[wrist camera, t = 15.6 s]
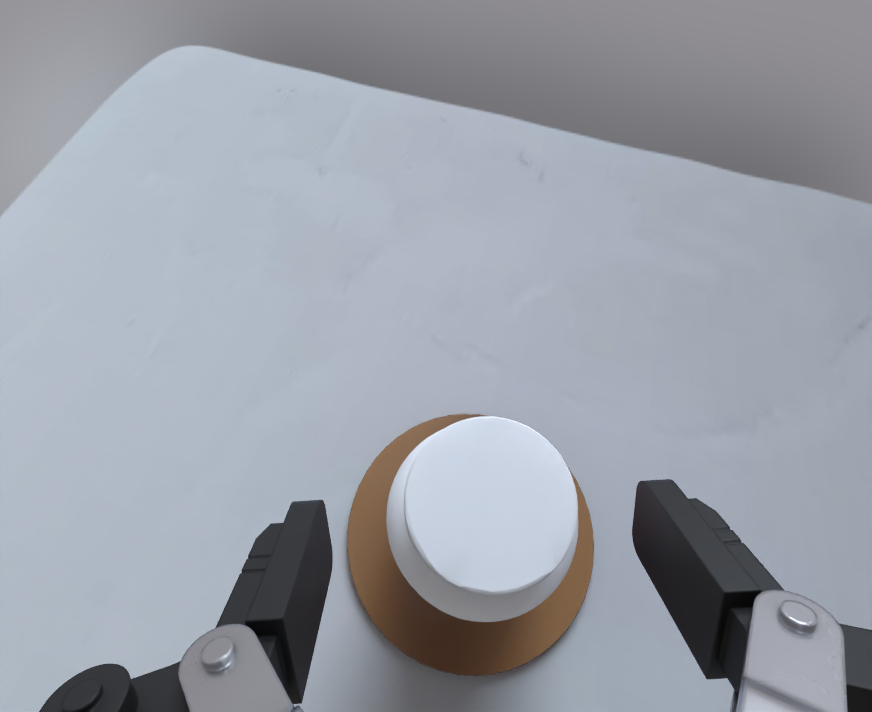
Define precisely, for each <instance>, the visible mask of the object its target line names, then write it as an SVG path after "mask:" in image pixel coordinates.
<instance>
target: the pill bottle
mask: <svg viewBox="0 0 872 712" xmlns="http://www.w3.org/2000/svg"><path fill="white" fill-rule="evenodd" d="M386 523H387V533H388V539H389V544H390V547H391V551H392V553H393V556H394V559H395V561H396V563H397V565H398V567H399V569H400V571H401V572H402V574H403V576H404V577H405V578H406V580H407V581H408V583H409V584H410V585H411V586H412V587H413V588H414V589H415V590H416V592H417V593H418V594H419V595H420V596H421V597H422V598H424V599H425V600H426V601H427V602H429V603H430V604H431V605H433V606H434V607H436V608H437V609H439V610H441V611H442V612H444V613H446V614H449V615H451V616H453V617H456V618H459V619H463V620H469V621H475V622H497V621H503V620H508V619H511V618H515V617H518V616H520V615H522V614H524V613H527V612H528V611H530V610H532V609H533V608H535V607H537V606H538V605H539V604H541V603H542V602H543V601H544V600H546V599H547V598H548V597H549V596H550V595H551V594H552V593H553V592H554V590H555V589H556V588H557V587H558V586H559V584H560V583H561V581H562V580H563V578H564V577H565V575H566V573H567V571H568V569H569V567H570V565H571V562H572V559H573V556H574V553H575V549H576V544H577V538H578V501H577V493H576V488H575V484H574V481H573V478H572V476H571V473H570V471H569V469H568V467H567V465H566V464H565V462H564V460H563V458H562V457H561V455H560V454H559V452H558V451H557V450H556V449H555V448H554V447H553V446H552V444H551V443H550V442H549V441H548V440H547V439H545V438H544V437H543V436H542V435H540V434H539V433H537V432H536V431H535V430H533V429H532V428H530V427H528V426H526V425H524V424H522V423H519V422H517V421H514V420H510V419H506V418H502V417H494V416H482V417H473V418H468V419H465V420H461V421H459V422H456V423H454V424H451V425H449V426H447V427H446V428H444V429H442V430H440V431H438V432H436V433H434V434H433V435H431V436H429V437H428V438H426V439H425V440H424V441H422V442H421V443H420V444H419V445H418V446H417V447H416V448H415V449H414V450H413V451H412V452H411V453H410V454H409V455H408V457H407V458H406V459H405V460H404V462H403V463H402V465H401V467H400V468H399V470H398V472H397V474H396V476H395V478H394V481H393V484H392V486H391V490H390V493H389V498H388V503H387V516H386Z"/></svg>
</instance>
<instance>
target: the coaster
mask: <svg viewBox="0 0 872 712" xmlns="http://www.w3.org/2000/svg"><path fill="white" fill-rule="evenodd" d="M482 416H486V415H480V414H457V415H448V416H444V417H439V418H435V419H432V420H429V421H426V422H424V423H421V424H419V425H417V426H415V427H413V428H411V429H409V430H408V431H406V432H405V433H403V434H402V435H400V436H399V437H397V438H396V439H395V440H394V441H393V442H391V443H390V444H389V445H388V446H387V447H386V448H385V449H384V450H383V451H382V452H381V453H380V454H379V455H378V457H377V458H376V459H375V460H374V462H373V463H372V464H371V466H370V467H369V469H368V470H367V472H366V474H365V475H364V477H363V479H362V481H361V483H360V485H359V487H358V490H357V493H356V495H355V498H354V501H353V505H352V509H351V513H350V517H349V525H348V557H349V565H350V570H351V574H352V578H353V582H354V585H355V588H356V590H357V593H358V595H359V598H360V600H361V602H362V604H363V606H364V608H365V610H366V611H367V613H368V615H369V617H370V618H371V620H372V621H373V622H374V624H375V625H376V626H377V628H378V629H379V630H380V632H381V633H382V634H383V635H384V636H385V637H386V638H387V639H388V640H389V641H390V642H391V643H392V644H393V645H395V646H396V647H397V648H398V649H400V650H401V651H402V652H404V653H405V654H406V655H408V656H409V657H411V658H413V659H415V660H416V661H418V662H420V663H422V664H424V665H426V666H429V667H432V668H434V669H437V670H439V671H443V672H448V673H452V674H457V675H471V676H479V675H489V674H496V673H500V672H504V671H508V670H511V669H514V668H516V667H518V666H521V665H523V664H525V663H528V662H529V661H531V660H532V659H534V658H536V657H537V656H539V655H541V654H542V653H543V652H545V651H546V650H547V649H548V648H549V647H550V646H552V645H553V644H554V643H555V642H556V641H557V640H558V639H559V638H560V637H561V635H562V634H563V633H564V632H565V631H566V630H567V629H568V627H569V625H570V624H571V622H572V621H573V619H574V618H575V616H576V615H577V613H578V611H579V609H580V607H581V604H582V602H583V600H584V598H585V595H586V592H587V589H588V586H589V582H590V578H591V572H592V567H593V554H594V541H593V529H592V524H591V519H590V514H589V510H588V507H587V504H586V501H585V498H584V496H583V493H582V491H581V489H580V487H579V485H578V483H577V481H576V479H575V478H574V476H573V474H572V473H571V471H570V470H569V471H570V473H571V476H572V478H573V481H574V484H575V488H576V493H577V501H578V538H577V544H576V549H575V553H574V556H573V559H572V562H571V565H570V567H569V569H568V571H567V573H566V575H565V577H564V578H563V580H562V581H561V583H560V584H559V586H558V587H557V588H556V589H555V590H554V592H553V593H552V594H551V595H550V596H549V597H548V598H547V599H546V600H544V601H543V602H542V603H541V604H539V605H538V606H537V607H535V608H533V609H532V610H530V611H528V612H527V613H524V614H522V615H520V616H518V617H515V618H511V619H508V620H503V621H497V622H475V621H469V620H463V619H459V618H456V617H453V616H451V615H449V614H446V613H444V612H442V611H441V610H439V609H437V608H436V607H434V606H433V605H431V604H430V603H429V602H427V601H426V600H425V599H424V598H422V597H421V596H420V595H419V594H418V593H417V592H416V590H415V589H414V588H413V587H412V586H411V585H410V584H409V583H408V581H407V580H406V578H405V577H404V576H403V574H402V572H401V571H400V569H399V567H398V565H397V563H396V561H395V559H394V556H393V553H392V551H391V547H390V544H389V539H388V533H387V523H386V516H387V503H388V498H389V493H390V490H391V486H392V484H393V481H394V478H395V476H396V474H397V472H398V470H399V468H400V467H401V465H402V463H403V462H404V460H405V459H406V458H407V457H408V455H409V454H410V453H411V452H412V451H413V450H414V449H415V448H416V447H417V446H418V445H419V444H420V443H421V442H422V441H424V440H425V439H426V438H428V437H429V436H431V435H433V434H434V433H436V432H438V431H440V430H442V429H444V428H446V427H447V426H449V425H451V424H454V423H456V422H459V421H461V420H465V419H468V418H473V417H482ZM568 469H569V468H568Z"/></svg>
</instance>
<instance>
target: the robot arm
mask: <svg viewBox="0 0 872 712" xmlns="http://www.w3.org/2000/svg"><path fill="white" fill-rule="evenodd" d="M632 536H633V543H634V547H635V550H636V553H637V555H638V557H639V559H640V561H641V563H642V565H643V566H644V568H645V570H646V572H647V573H648V575H649V577H650V579H651V581H652V582H653V584H654V586H655V588H656V590H657V591H658V593H659V595H660V597H661V598H662V600H663V602H664V604H665V606H666V607H667V609H668V611H669V613H670V615H671V616H672V618H673V620H674V622H675V624H676V625H677V627H678V629H679V631H680V632H681V634H682V636H683V638H684V640H685V641H686V643H687V645H688V647H689V649H690V650H691V652H692V654H693V656H694V657H695V659H696V661H697V663H698V665H699V666H700V668H701V670H702V672H703V674H704V675H705V677H706V679H721V678H728V680H729V681H730V683H731V685H732V686H733V688H734V692H733V696H732V701H731V708H730V712H872V630H868V629H863V628H858V627H853V626H848V625H843V624H839V623H838V622H837V620H836V619H835V618H834V617H833V616H832V615H831V614H830V613H829V612H828V611H827V610H825V609H824V608H823V607H821V606H820V605H819V604H817V603H815V602H814V601H812V600H810V599H808V598H806V597H804V596H801V595H799V594H796V593H793V592H789V591H785V590H784V589H783V588H782V587H781V586H780V585H779V584H778V582H777V581H776V580H775V579H774V578H773V577H772V575H771V574H770V573H769V572H768V571H767V570H766V568H765V567H764V566H763V565H762V564H761V563H760V562H759V560H758V559H757V558H756V557H755V556H754V555H753V553H752V552H751V551H750V550H749V549H748V548H747V546H746V545H745V544H744V543H741V540H740V538H739V537H738V536H737V535H736V534H735V533H734V531H733V530H730V527H729V526H728V525H727V523H726V522H725V521H724V520H723V519H722V518H721V516H720V515H719V514H718V513H717V512H716V511H715V510H713V509H712V508H710V507H709V506H707V505H706V504H704V503H703V502H701V501H699V500H698V499H696V498H694V499H688V498H687V497H686V496H685V494H684V493H683V492H682V491H681V489H680V488H679V487H678V486H677V485H676V483H675V482H674V481H673V480H670V479H666V480H650V481H640V482H639V483H638V485H637V490H636V500H635V509H634V519H633V528H632ZM331 572H332V545H331V539H330V533H329V527H328V521H327V515H326V509H325V504H324V501H323V500H313V501H297V502H292V504H291V505H290V508H289V510H288V513H287V515H286V518H285V521H284V523H276V524H270V525H269V526H268V527H267V528H266V529H265V530H264V531H263V532H262V533H261V534H260V535H259V536H258V537H257V538H256V540H255V542H254V544H253V547H252V549H251V551H250V553H249V555H248V559H247V560H246V562H245V564H244V567H243V569H242V574H240V575H239V578H238V580H237V582H236V584H235V586H234V589H233V591H232V593H231V595H230V597H229V600H228V602H227V604H226V606H225V608H224V611H223V613H222V615H221V617H220V619H219V622H218V624H217V626H216V628H215V629H213V630H211V631H209V632H207V633H205V634H204V635H202V636H201V637H200V638H198V639H197V640H196V641H195V642H194V643H193V644H192V645H191V646H190V647H189V648H188V650H187V651H186V653H185V654H184V656H183V658H182V660H181V661H180V662H178V663H176V664H173V665H171V666H168V667H165V668H162V669H159V670H157V671H154V672H151V673H148V674H145V675H142V676H139V677H136V678H133V679H131V678H130V675H129V673H128V671H127V670H126V669H125V668H124V667H123V666H120V665H118V664H103V665H98V666H95V667H92V668H89V669H87V670H85V671H83V672H81V673H79V674H77V675H75V676H74V677H72V678H71V679H69V680H68V681H67V682H65V683H64V684H63V685H62V686H60V687H59V688H58V689H57V690H56V691H55V692H54V693H53V694H52V695H51V696H50V697H49V699H48V700H47V701H46V703H45V704H44V705H43V707H42V708H41V710H40V711H39V712H304V711H303V710H302V709H301V707H300V706H296V707H294V706H293V704H299V703H302V700H303V696H304V691H305V687H306V682H307V678H308V674H309V669H310V665H311V661H312V656H313V652H314V647H315V643H316V639H317V634H318V630H319V625H320V621H321V617H322V612H323V608H324V603H325V599H326V595H327V590H328V586H329V581H330V577H331Z"/></svg>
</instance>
